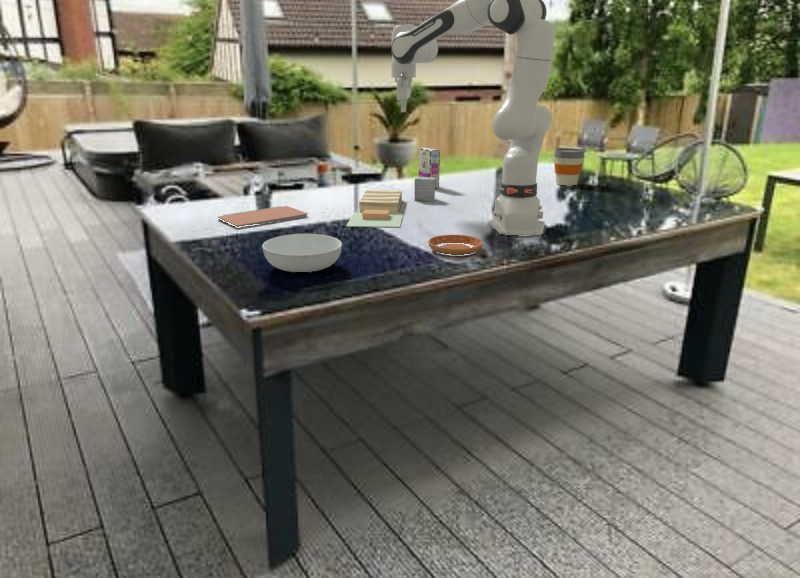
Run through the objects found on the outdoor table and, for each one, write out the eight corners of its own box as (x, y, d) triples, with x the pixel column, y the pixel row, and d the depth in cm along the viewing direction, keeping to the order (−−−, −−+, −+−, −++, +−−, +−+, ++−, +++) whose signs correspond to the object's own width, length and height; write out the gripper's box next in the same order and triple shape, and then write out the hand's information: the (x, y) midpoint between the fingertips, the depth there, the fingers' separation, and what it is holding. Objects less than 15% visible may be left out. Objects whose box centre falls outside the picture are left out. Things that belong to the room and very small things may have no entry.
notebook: (285, 209, 236) (285, 204, 236) (308, 218, 224) (308, 212, 223) (216, 220, 220) (215, 215, 220) (237, 230, 208) (236, 224, 207)
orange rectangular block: (389, 209, 223) (389, 215, 224) (364, 209, 224) (364, 215, 225) (388, 213, 218) (388, 219, 218) (362, 213, 218) (362, 219, 219)
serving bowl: (319, 285, 157) (318, 258, 154) (248, 274, 164) (246, 249, 162) (355, 261, 175) (355, 237, 173) (290, 253, 182) (288, 230, 180)
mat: (399, 227, 209) (399, 226, 209) (346, 226, 210) (346, 225, 210) (403, 213, 228) (403, 212, 228) (354, 212, 229) (354, 212, 229)
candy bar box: (439, 188, 271) (440, 149, 266) (429, 189, 269) (430, 150, 264) (428, 184, 281) (428, 146, 275) (417, 185, 279) (418, 147, 273)
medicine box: (434, 198, 252) (435, 177, 249) (434, 201, 248) (434, 179, 245) (415, 198, 252) (415, 176, 249) (414, 200, 248) (414, 179, 245)
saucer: (457, 240, 195) (458, 231, 194) (494, 252, 183) (494, 242, 182) (417, 249, 186) (417, 239, 185) (452, 262, 174) (453, 252, 173)
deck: (397, 213, 228) (397, 202, 227) (359, 213, 229) (359, 202, 228) (401, 200, 249) (401, 190, 247) (366, 200, 250) (366, 190, 248)
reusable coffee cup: (546, 182, 284) (549, 148, 278) (571, 181, 287) (574, 147, 282) (561, 187, 272) (564, 152, 267) (586, 186, 276) (590, 151, 271)
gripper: (410, 73, 218) (410, 114, 223) (413, 71, 237) (413, 109, 242) (392, 73, 219) (392, 114, 224) (396, 71, 238) (397, 109, 243)
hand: (403, 111), depth 233 cm, fingers closed
